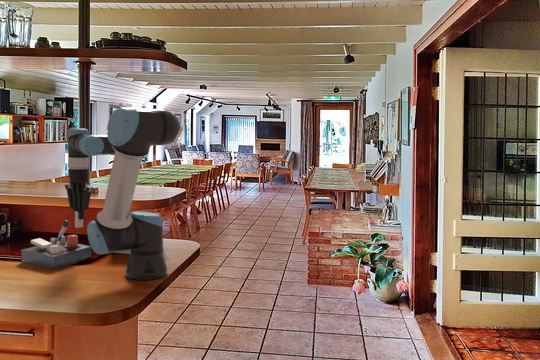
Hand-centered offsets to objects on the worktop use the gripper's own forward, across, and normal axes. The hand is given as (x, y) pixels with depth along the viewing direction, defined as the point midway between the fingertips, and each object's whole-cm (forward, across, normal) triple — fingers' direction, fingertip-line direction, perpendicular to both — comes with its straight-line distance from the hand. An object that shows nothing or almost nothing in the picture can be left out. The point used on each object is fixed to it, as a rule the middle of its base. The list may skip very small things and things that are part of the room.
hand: (79, 226), depth 186 cm
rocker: (+7, +12, +8) cm, 16 cm away
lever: (+8, +12, 0) cm, 14 cm away
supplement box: (+14, -5, -21) cm, 26 cm away
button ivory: (+12, +4, +8) cm, 15 cm away
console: (+14, +8, +4) cm, 16 cm away
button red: (+9, +4, 0) cm, 10 cm away
